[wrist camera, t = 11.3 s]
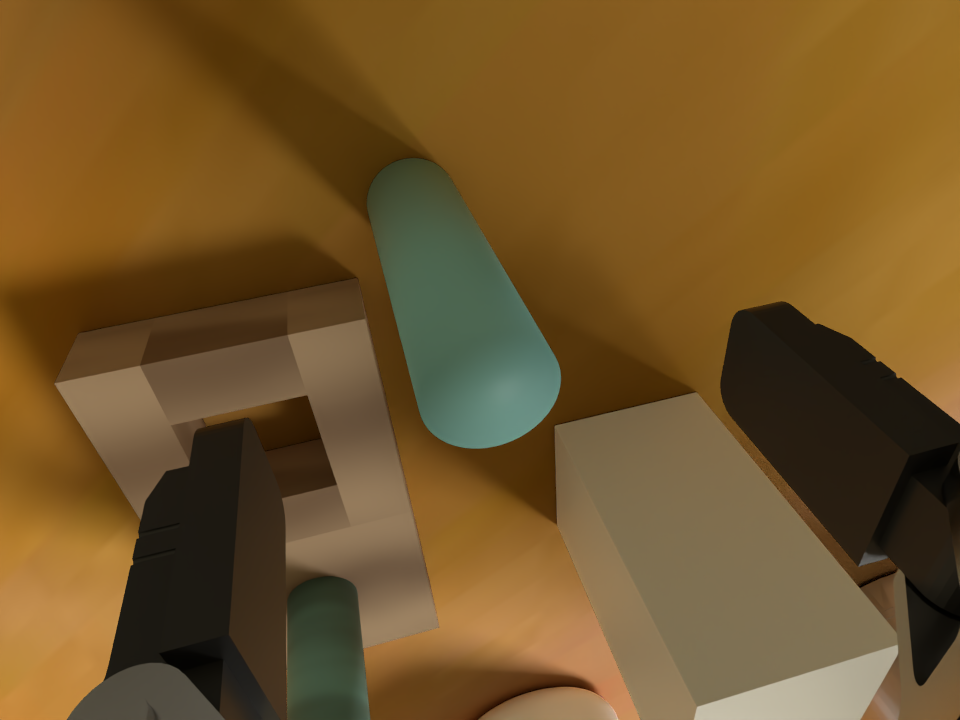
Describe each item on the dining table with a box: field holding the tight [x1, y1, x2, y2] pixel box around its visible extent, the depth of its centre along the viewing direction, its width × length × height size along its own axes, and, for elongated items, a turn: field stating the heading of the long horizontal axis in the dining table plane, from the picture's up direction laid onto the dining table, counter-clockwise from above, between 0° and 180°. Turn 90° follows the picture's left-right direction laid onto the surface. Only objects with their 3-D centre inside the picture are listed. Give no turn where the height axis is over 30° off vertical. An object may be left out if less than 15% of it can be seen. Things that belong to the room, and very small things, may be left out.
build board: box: [54, 278, 411, 543], centre depth 20 cm, size 8×8×2 cm
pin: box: [367, 158, 561, 449], centre depth 15 cm, size 3×3×9 cm
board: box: [286, 467, 439, 720], centre depth 22 cm, size 8×8×11 cm
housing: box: [555, 392, 898, 720], centre depth 23 cm, size 6×6×11 cm
